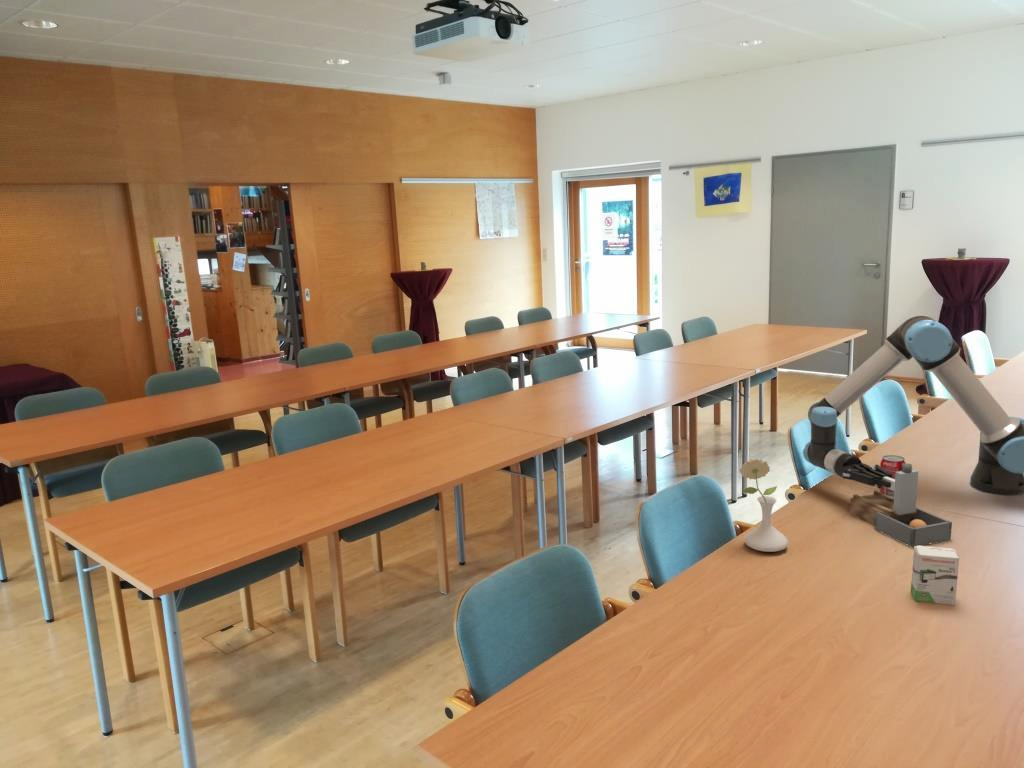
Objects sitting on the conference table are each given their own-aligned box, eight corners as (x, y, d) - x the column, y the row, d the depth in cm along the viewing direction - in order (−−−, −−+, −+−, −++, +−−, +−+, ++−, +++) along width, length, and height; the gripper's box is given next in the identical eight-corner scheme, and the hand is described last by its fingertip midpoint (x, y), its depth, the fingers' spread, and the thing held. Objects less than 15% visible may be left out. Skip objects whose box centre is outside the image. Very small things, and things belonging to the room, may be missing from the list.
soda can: (907, 501, 234) (909, 461, 231) (882, 501, 235) (884, 461, 233) (900, 493, 241) (902, 454, 238) (876, 493, 242) (878, 454, 239)
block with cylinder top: (892, 512, 213) (895, 464, 210) (909, 509, 214) (912, 462, 211) (899, 515, 211) (901, 467, 208) (916, 512, 212) (919, 464, 209)
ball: (928, 534, 209) (921, 518, 210) (931, 532, 205) (924, 516, 207) (911, 538, 210) (905, 522, 211) (914, 536, 206) (907, 520, 207)
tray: (874, 528, 215) (875, 512, 214) (911, 522, 219) (912, 505, 218) (912, 547, 202) (913, 529, 201) (950, 539, 206) (951, 522, 205)
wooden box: (850, 514, 227) (850, 495, 225) (877, 509, 229) (878, 490, 228) (887, 532, 213) (888, 512, 211) (916, 527, 215) (917, 507, 214)
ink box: (914, 601, 175) (917, 553, 172) (910, 591, 179) (913, 545, 177) (956, 605, 172) (960, 557, 170) (951, 595, 177) (954, 548, 174)
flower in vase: (790, 541, 210) (792, 455, 205) (785, 558, 200) (788, 468, 195) (741, 535, 215) (742, 451, 210) (734, 551, 205) (736, 463, 200)
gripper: (860, 473, 237) (920, 497, 215) (825, 478, 233) (882, 504, 211) (861, 450, 235) (921, 472, 213) (826, 455, 232) (883, 478, 210)
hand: (902, 488), depth 212 cm, fingers closed
